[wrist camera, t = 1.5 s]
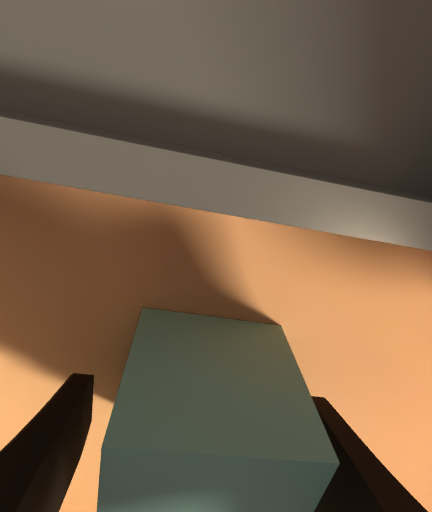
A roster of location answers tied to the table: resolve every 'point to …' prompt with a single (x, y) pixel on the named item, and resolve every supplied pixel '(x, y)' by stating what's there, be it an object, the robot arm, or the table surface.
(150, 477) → the teal block
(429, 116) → the charcoal tray
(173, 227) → the table surface
